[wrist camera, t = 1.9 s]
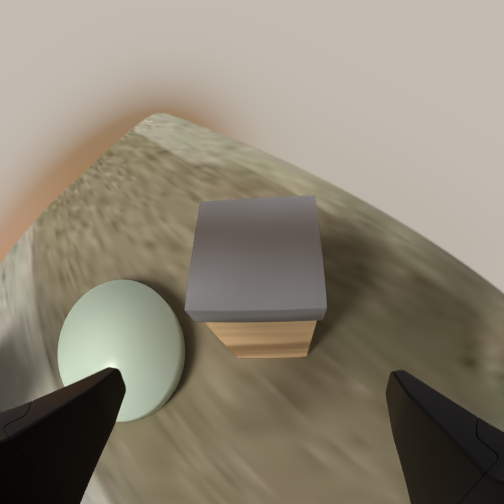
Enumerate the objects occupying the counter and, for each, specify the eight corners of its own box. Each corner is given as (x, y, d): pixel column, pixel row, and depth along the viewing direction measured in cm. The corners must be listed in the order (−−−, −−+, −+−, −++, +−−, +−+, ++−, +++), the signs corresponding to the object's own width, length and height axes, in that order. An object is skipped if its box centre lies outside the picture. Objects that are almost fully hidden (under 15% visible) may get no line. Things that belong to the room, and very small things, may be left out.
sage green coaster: (119, 449, 17) (109, 450, 16) (51, 349, 22) (41, 344, 21) (216, 348, 21) (211, 344, 20) (127, 263, 26) (120, 255, 25)
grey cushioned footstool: (309, 359, 20) (327, 308, 10) (234, 360, 20) (184, 310, 11) (306, 290, 23) (314, 195, 13) (237, 292, 23) (200, 202, 14)
